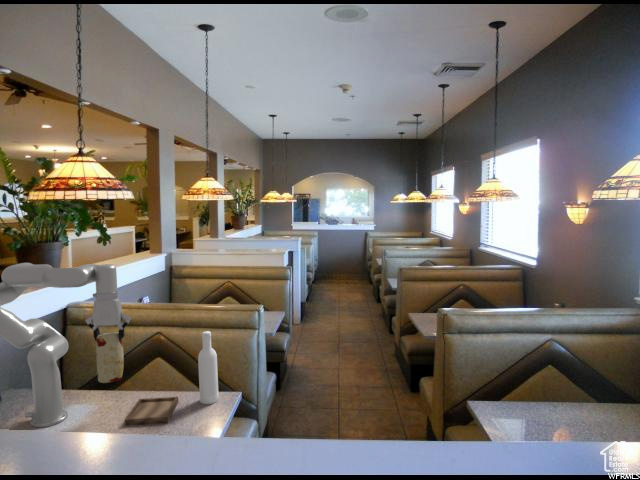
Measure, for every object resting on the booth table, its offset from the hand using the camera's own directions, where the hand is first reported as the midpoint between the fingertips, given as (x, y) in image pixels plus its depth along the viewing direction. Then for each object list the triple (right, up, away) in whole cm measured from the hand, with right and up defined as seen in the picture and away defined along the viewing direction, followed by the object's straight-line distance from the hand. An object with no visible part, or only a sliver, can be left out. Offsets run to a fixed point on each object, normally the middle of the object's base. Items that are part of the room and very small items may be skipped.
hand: (109, 339), depth 174 cm
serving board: (+16, -31, +4) cm, 35 cm away
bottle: (+36, -30, +15) cm, 49 cm away
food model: (0, -17, +1) cm, 17 cm away
